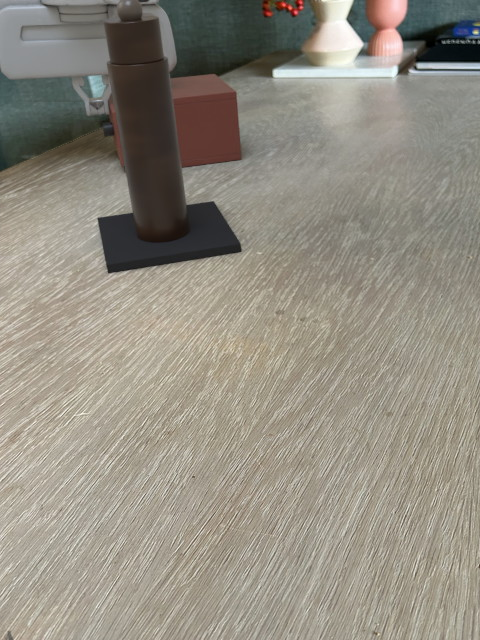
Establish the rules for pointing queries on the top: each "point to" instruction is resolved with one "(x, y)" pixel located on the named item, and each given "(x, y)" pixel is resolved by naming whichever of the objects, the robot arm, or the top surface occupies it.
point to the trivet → (201, 241)
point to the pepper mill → (146, 123)
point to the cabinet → (206, 120)
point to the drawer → (113, 129)
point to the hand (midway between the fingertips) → (98, 114)
